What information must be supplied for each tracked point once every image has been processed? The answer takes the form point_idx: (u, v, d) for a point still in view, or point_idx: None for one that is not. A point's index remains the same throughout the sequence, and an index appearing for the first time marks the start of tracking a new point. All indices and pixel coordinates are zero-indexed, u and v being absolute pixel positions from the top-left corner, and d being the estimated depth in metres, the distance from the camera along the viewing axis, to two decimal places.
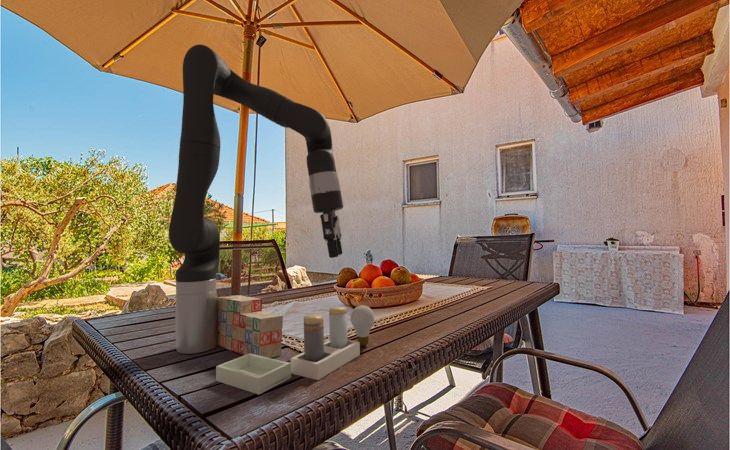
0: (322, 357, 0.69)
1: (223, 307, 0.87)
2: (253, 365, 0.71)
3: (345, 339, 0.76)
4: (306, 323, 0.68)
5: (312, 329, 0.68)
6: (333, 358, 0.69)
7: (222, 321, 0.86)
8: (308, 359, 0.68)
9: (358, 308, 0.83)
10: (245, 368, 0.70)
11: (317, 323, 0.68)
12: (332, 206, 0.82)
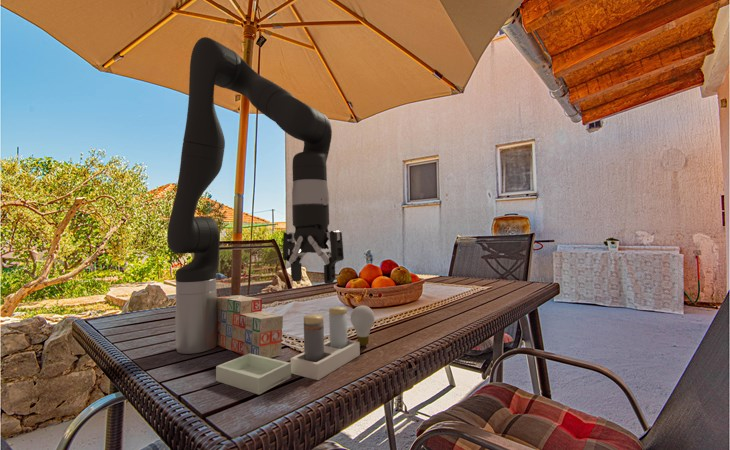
0: (322, 357, 0.69)
1: (223, 307, 0.87)
2: (253, 365, 0.71)
3: (345, 339, 0.76)
4: (306, 323, 0.68)
5: (312, 329, 0.68)
6: (333, 358, 0.69)
7: (222, 321, 0.86)
8: (308, 359, 0.68)
9: (358, 308, 0.83)
10: (245, 368, 0.70)
11: (317, 323, 0.68)
12: (328, 223, 0.70)
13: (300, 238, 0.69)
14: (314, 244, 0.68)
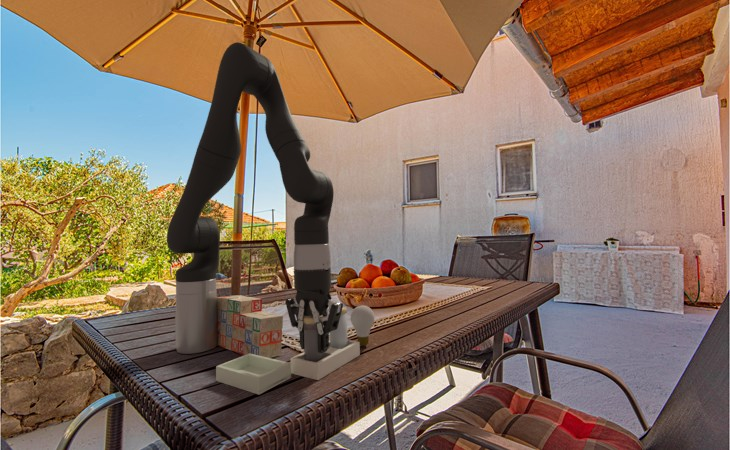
0: (322, 357, 0.69)
1: (223, 307, 0.87)
2: (253, 365, 0.71)
3: (345, 339, 0.76)
4: (306, 323, 0.68)
5: (312, 329, 0.68)
6: (333, 358, 0.69)
7: (222, 321, 0.86)
8: (308, 359, 0.68)
9: (358, 308, 0.83)
10: (245, 368, 0.70)
11: None
12: (330, 286, 0.69)
13: (302, 302, 0.69)
14: (314, 310, 0.67)
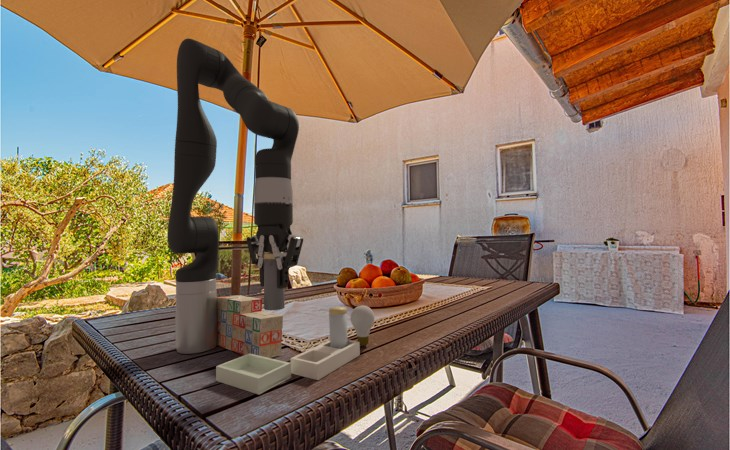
0: (282, 293, 0.68)
1: (223, 307, 0.87)
2: (253, 365, 0.71)
3: (345, 339, 0.76)
4: (265, 258, 0.67)
5: (271, 264, 0.67)
6: (333, 358, 0.69)
7: (222, 321, 0.86)
8: (267, 294, 0.67)
9: (358, 308, 0.83)
10: (245, 368, 0.70)
11: None
12: (291, 222, 0.68)
13: (261, 237, 0.68)
14: (274, 245, 0.66)
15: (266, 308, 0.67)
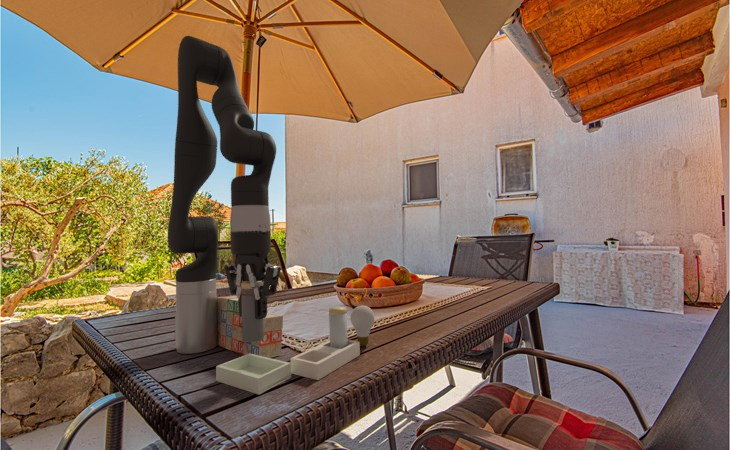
0: (260, 324, 0.66)
1: (223, 307, 0.87)
2: (253, 365, 0.71)
3: (345, 339, 0.76)
4: (242, 288, 0.65)
5: (248, 294, 0.65)
6: (333, 358, 0.69)
7: (222, 321, 0.86)
8: (244, 326, 0.65)
9: (358, 308, 0.83)
10: (245, 368, 0.70)
11: None
12: (269, 250, 0.66)
13: (239, 266, 0.66)
14: (250, 274, 0.64)
15: (244, 340, 0.65)
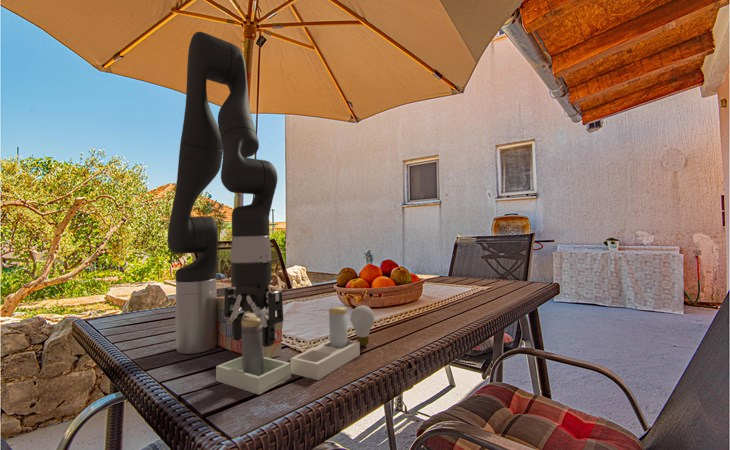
0: (260, 362, 0.65)
1: (223, 307, 0.87)
2: None
3: (345, 339, 0.76)
4: (243, 326, 0.65)
5: (249, 332, 0.64)
6: (333, 358, 0.69)
7: (222, 321, 0.86)
8: (245, 364, 0.65)
9: (358, 308, 0.83)
10: None
11: (254, 326, 0.65)
12: (270, 280, 0.66)
13: (239, 297, 0.66)
14: (253, 304, 0.64)
15: None
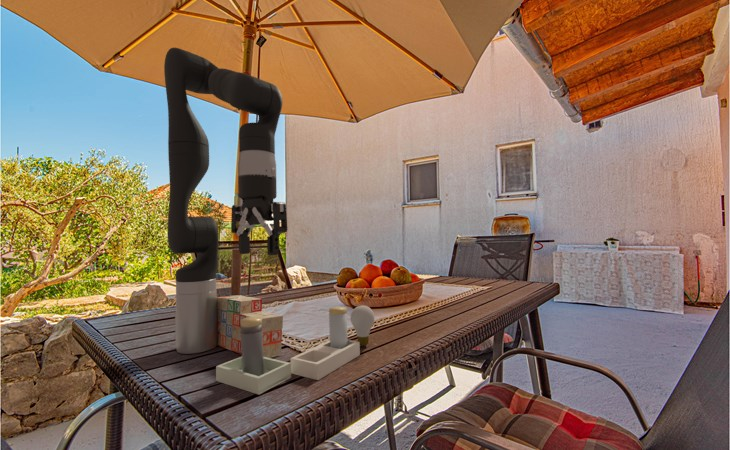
0: (260, 361, 0.65)
1: (223, 307, 0.87)
2: None
3: (345, 339, 0.76)
4: (242, 326, 0.65)
5: (248, 332, 0.64)
6: (333, 358, 0.69)
7: (222, 321, 0.86)
8: (244, 364, 0.65)
9: (358, 308, 0.83)
10: None
11: (253, 326, 0.65)
12: (275, 195, 0.69)
13: (246, 210, 0.69)
14: (258, 215, 0.67)
15: None
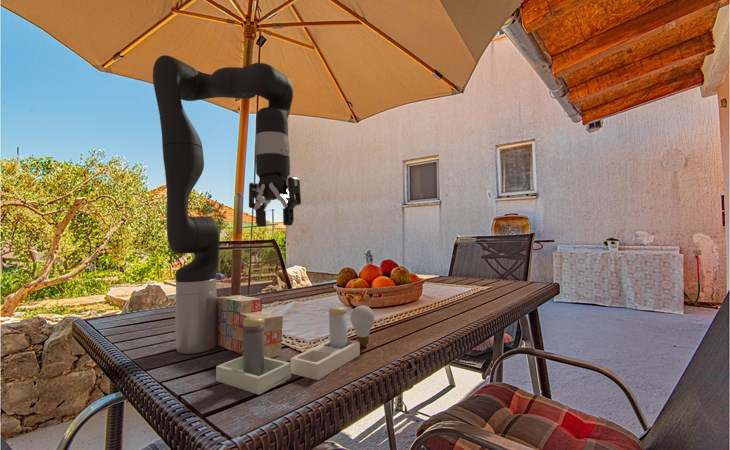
0: (260, 362, 0.65)
1: (223, 307, 0.87)
2: None
3: (345, 339, 0.76)
4: (244, 326, 0.65)
5: (250, 332, 0.65)
6: (333, 358, 0.69)
7: (222, 321, 0.86)
8: (245, 363, 0.65)
9: (358, 308, 0.83)
10: None
11: (255, 325, 0.65)
12: (289, 172, 0.77)
13: (263, 186, 0.77)
14: (275, 189, 0.75)
15: None
